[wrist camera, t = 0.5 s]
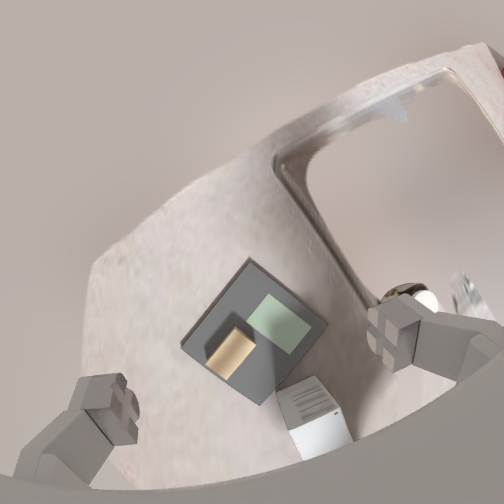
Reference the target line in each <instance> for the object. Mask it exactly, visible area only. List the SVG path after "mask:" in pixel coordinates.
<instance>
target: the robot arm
mask: <svg viewBox="0 0 504 504" xmlns="http://www.w3.org/2000/svg"><path fill="white" fill-rule="evenodd" d="M367 319H368V320H369V321H370V322H371V323H370V325H369V327H368V328H367V341H368V344H369V346H370V348H371V350H372V351H373V352H374V353H375V354H376V355H379V356H382V362H383V364H384V365H385V366H386V367H387V368H388V369H389V370H390V371H391V372H392V373H394V372H397V371H399V370H401V369H403V368H405V367H407V366H409V365H411V364H413V365H414V366H417V367H419V368H422V369H424V370H427V371H429V372H432V373H435V374H437V375H440V376H443V377H445V378H448V379H451V380H453V381H456V385H455V387H453V388H452V389H450V390H449V391H447V392H446V393H444V394H443V395H441V396H440V397H438V398H437V399H435V400H433V401H432V402H430V403H428V404H427V405H425V406H423V407H422V408H420V409H419V410H417V411H415V412H414V413H411V414H410V415H408V416H406V417H404V418H402V419H401V420H399V421H397V422H395V423H393V424H391V425H389V426H387V427H385V428H383V429H381V430H379V431H377V432H375V433H373V434H371V435H368V436H366V437H364V438H362V439H360V440H357V441H355V442H353V443H350V444H348V445H346V446H343V447H341V448H338V449H336V450H333V451H331V452H328V453H325V454H322V455H320V456H317V457H314V458H311V459H308V460H305V461H302V462H299V463H296V464H293V465H290V466H286V467H283V468H279V469H276V470H272V471H268V472H264V473H260V474H256V475H252V476H248V477H243V478H238V479H233V480H228V481H223V482H217V483H211V484H204V485H197V486H188V487H179V488H168V489H153V490H97V489H93V488H92V487H90V486H89V484H90V483H91V481H92V480H93V478H94V477H95V475H96V473H97V472H98V471H99V469H100V468H101V466H102V465H103V463H104V462H105V460H106V459H107V457H108V456H109V454H110V453H111V451H112V450H113V449H114V446H121V445H132V444H137V438H138V427H137V426H136V424H135V422H136V421H137V420H138V419H139V415H140V410H139V403H138V401H137V398H136V396H135V394H134V392H133V391H131V390H130V389H128V388H126V386H127V380H126V379H125V377H124V376H123V374H121V373H112V374H104V375H94V376H87V377H81V378H79V379H78V382H77V385H76V387H75V390H74V393H73V396H72V398H71V401H70V404H69V407H68V410H67V411H63V412H62V413H61V414H60V415H59V416H58V417H56V418H55V419H54V420H53V421H52V422H51V423H50V424H49V425H48V426H47V427H46V428H44V429H43V430H42V431H41V432H40V433H39V434H38V435H37V436H36V437H35V438H34V439H33V440H31V441H30V442H29V443H28V444H27V445H26V446H25V447H24V448H23V449H22V450H21V453H20V456H19V459H18V462H17V465H16V468H15V471H14V475H13V477H10V476H6V475H2V474H0V504H504V327H503V326H501V325H500V324H498V323H497V322H495V321H491V320H485V319H479V318H473V317H467V316H461V315H455V314H449V313H444V312H436V313H434V312H433V311H431V310H430V309H429V308H427V307H426V306H424V305H423V304H422V303H420V302H419V301H417V300H416V299H415V298H413V297H412V296H410V295H409V294H405V293H404V294H402V295H400V296H397V297H395V298H393V299H391V300H389V301H386V302H384V303H381V304H378V305H376V306H373V307H371V308H369V309H368V312H367Z"/></svg>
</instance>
